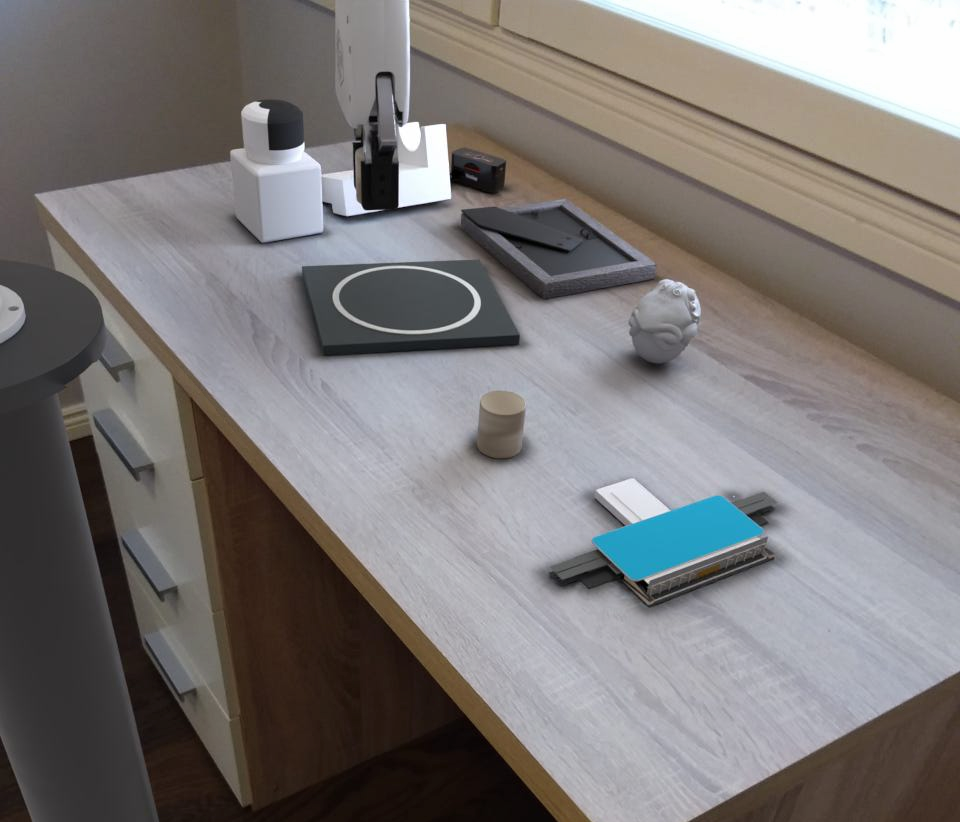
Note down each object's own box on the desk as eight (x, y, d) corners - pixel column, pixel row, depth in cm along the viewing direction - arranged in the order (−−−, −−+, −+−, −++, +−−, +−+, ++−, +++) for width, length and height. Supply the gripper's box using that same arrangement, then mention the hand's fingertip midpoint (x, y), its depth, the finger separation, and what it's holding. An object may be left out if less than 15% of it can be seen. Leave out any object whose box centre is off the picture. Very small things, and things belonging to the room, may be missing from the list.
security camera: (296, 208, 116) (290, 90, 108) (324, 233, 112) (320, 112, 103) (235, 218, 113) (223, 97, 105) (261, 244, 109) (251, 120, 100)
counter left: (359, 208, 92) (358, 161, 89) (353, 192, 95) (352, 145, 92) (400, 207, 93) (400, 159, 90) (393, 191, 95) (393, 144, 93)
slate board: (323, 355, 93) (322, 344, 92) (302, 275, 104) (301, 264, 103) (519, 344, 97) (520, 333, 96) (478, 268, 108) (479, 257, 107)
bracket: (421, 193, 124) (414, 121, 120) (451, 198, 118) (445, 124, 115) (319, 209, 118) (309, 135, 114) (346, 216, 113) (336, 138, 109)
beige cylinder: (482, 460, 83) (486, 416, 80) (472, 435, 85) (475, 391, 83) (526, 456, 84) (531, 413, 81) (514, 432, 86) (519, 388, 83)
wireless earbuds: (456, 173, 127) (457, 145, 124) (506, 189, 124) (508, 160, 122) (433, 184, 124) (434, 155, 121) (484, 200, 121) (486, 171, 119)
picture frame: (460, 227, 115) (543, 299, 104) (461, 209, 114) (545, 279, 102) (564, 212, 120) (654, 278, 109) (566, 194, 119) (657, 259, 108)
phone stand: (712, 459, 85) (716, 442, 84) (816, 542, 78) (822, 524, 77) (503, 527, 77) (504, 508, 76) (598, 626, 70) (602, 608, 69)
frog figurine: (705, 358, 97) (722, 286, 92) (661, 384, 93) (677, 310, 89) (651, 334, 100) (665, 263, 95) (607, 358, 96) (619, 285, 91)
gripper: (311, -67, 86) (321, 165, 99) (339, -16, 74) (347, 239, 87) (402, -65, 88) (400, 163, 100) (443, -15, 76) (436, 236, 89)
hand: (375, 196), depth 94 cm, fingers closed on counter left, 3 cm apart
